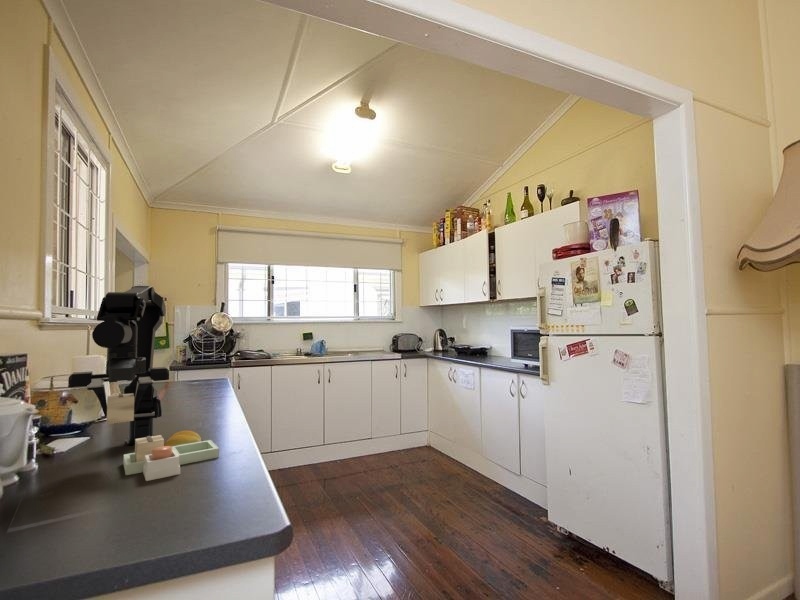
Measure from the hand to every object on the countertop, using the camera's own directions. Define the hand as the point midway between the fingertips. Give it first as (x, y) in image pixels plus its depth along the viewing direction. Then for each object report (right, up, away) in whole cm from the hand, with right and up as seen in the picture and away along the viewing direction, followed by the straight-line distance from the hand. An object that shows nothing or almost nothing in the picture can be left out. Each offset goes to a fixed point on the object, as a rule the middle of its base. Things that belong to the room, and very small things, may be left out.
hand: (120, 414), depth 93 cm
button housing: (+14, -10, -8) cm, 20 cm away
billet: (0, -1, 0) cm, 1 cm away
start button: (+14, -7, -8) cm, 18 cm away
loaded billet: (+8, -10, -3) cm, 14 cm away
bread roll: (+8, -12, +12) cm, 19 cm away
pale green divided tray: (+12, -11, 0) cm, 16 cm away
